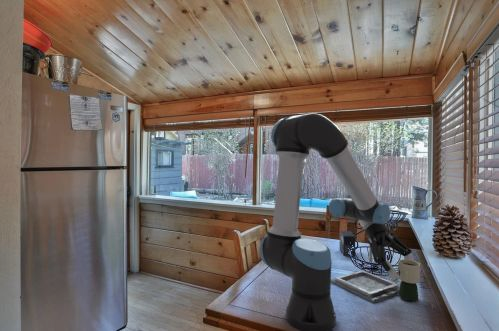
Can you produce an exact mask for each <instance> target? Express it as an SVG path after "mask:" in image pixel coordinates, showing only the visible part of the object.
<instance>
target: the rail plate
mask: <svg viewBox="0 0 499 331" xmlns="http://www.w3.org/2000/svg"><path fill="white" fill-rule="evenodd" d="M331 283H332V284H333V285H335V286H338V287H339V288H342V289H344V290H346V291H348V292H350V293H352V294H354V295H356V296H358V297H360V298H362V299H364V300H366V301H368V302H371V303H373V304H375V303H378V302H380V301H383V300H386V299H388V298H390V297H393V296H396V295H399V288H400V284H398V283H395V282H394V281H393V282H392V281H391V280H388V279H385V278H382V277H380V276H378V275H375V274H372V273H370V272H368V271H365V270H362V269H361V270H359V271H355V272H352V273H349V274H348V273H347V274H343V275H340V276H337V277H335V278H331Z"/></svg>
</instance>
